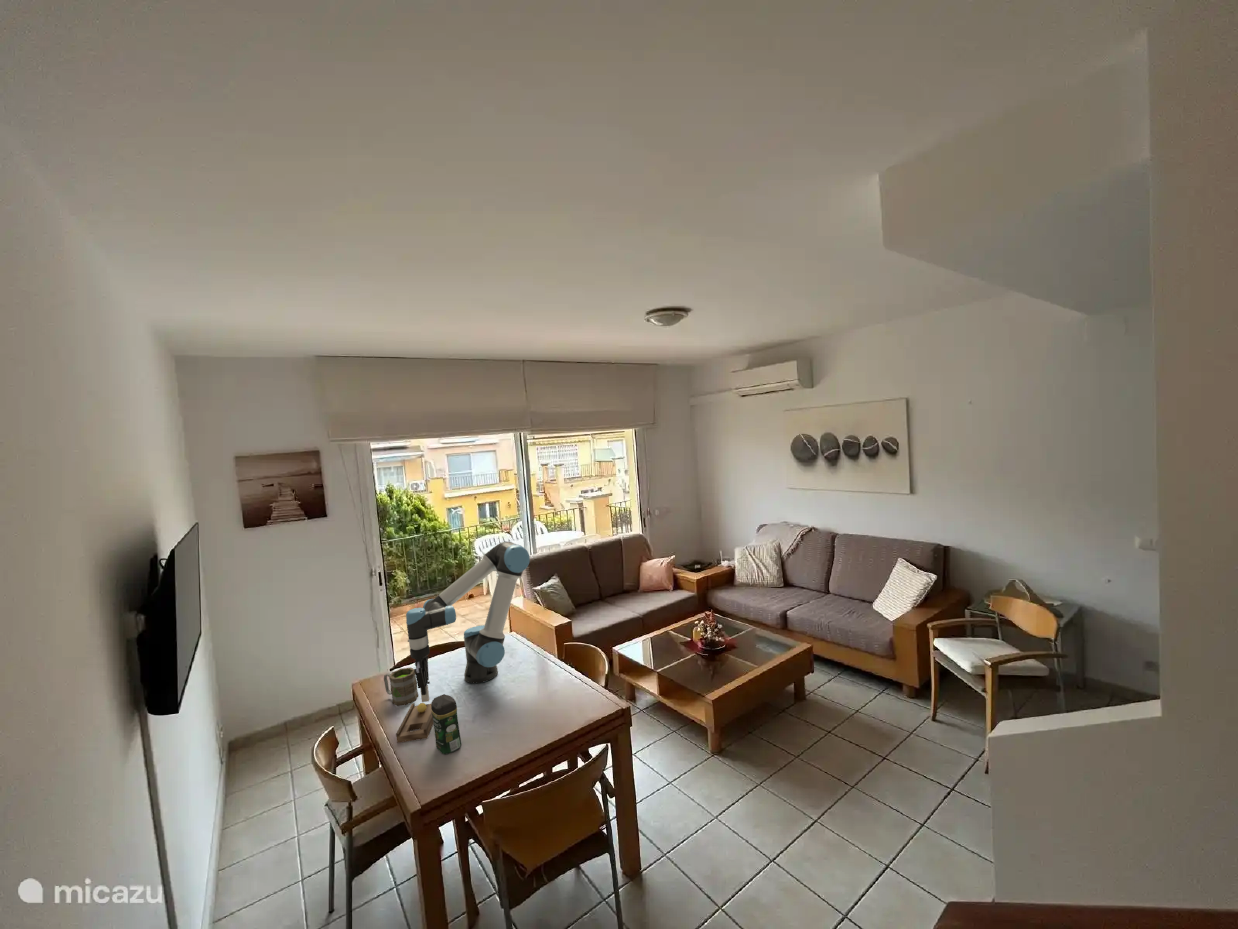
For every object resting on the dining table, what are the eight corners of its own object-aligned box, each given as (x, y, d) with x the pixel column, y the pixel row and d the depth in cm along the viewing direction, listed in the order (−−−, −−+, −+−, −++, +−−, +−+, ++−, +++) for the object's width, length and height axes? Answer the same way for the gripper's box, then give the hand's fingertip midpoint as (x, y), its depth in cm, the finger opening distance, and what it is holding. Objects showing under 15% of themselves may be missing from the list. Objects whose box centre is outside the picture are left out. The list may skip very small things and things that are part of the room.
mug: (424, 694, 232) (420, 668, 232) (406, 707, 222) (403, 680, 221) (395, 691, 238) (392, 665, 237) (377, 704, 227) (374, 677, 227)
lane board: (440, 708, 219) (439, 699, 219) (427, 738, 197) (426, 729, 197) (413, 711, 218) (412, 703, 218) (397, 743, 196) (395, 734, 196)
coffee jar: (433, 747, 192) (427, 698, 190) (453, 737, 197) (448, 689, 195) (443, 758, 184) (437, 707, 183) (464, 748, 189) (458, 698, 188)
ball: (427, 709, 214) (426, 700, 214) (425, 713, 211) (424, 705, 211) (418, 710, 214) (417, 701, 214) (416, 715, 211) (415, 706, 210)
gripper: (414, 641, 223) (420, 694, 225) (405, 654, 210) (412, 710, 212) (432, 638, 224) (438, 691, 226) (424, 651, 211) (431, 707, 213)
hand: (425, 700), depth 219 cm, fingers closed
